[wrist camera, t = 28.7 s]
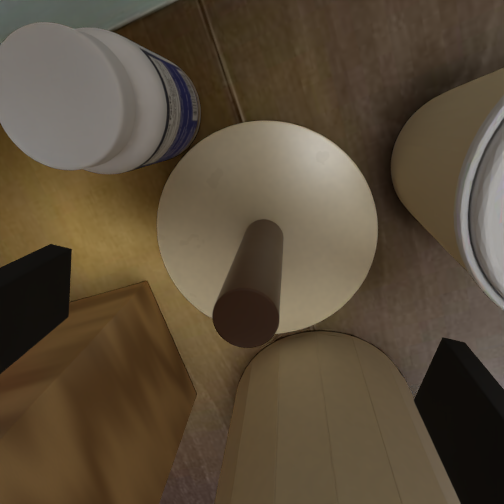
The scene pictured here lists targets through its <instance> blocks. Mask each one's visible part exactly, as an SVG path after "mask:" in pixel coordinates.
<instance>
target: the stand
mask: <svg viewBox="0 0 504 504" xmlns="http://www.w3.org/2000/svg"><path fill="white" fill-rule="evenodd" d="M196 395H197V394H196V391H195V389H194V387H193V385H192V382H191V380H190V378H189V375H188V373H187V371H186V369H185V366H184V364H183V362H182V360H181V357H180V355H179V353H178V350H177V348H176V346H175V344H174V341H173V339H172V337H171V335H170V332H169V330H168V328H167V325H166V323H165V321H164V319H163V316H162V314H161V312H160V310H159V307H158V305H157V303H156V301H155V298H154V296H153V294H152V291H151V289H150V287H149V285H148V282H147V281H145V282H142V283H138V284H134V285H131V286H127V287H124V288H120V289H116V290H113V291H109V292H106V293H102V294H98V295H95V296H91V297H88V298H84V299H80V300H77V301H73V302H69V317H68V318H67V319H66V320H64V321H63V322H62V323H61V324H60V325H58V326H57V327H56V328H55V329H54V330H52V331H51V332H50V333H49V334H48V335H47V336H45V337H44V338H43V339H42V340H41V341H39V342H38V343H37V344H36V345H35V346H33V347H32V348H31V349H30V350H29V351H27V352H26V353H25V354H24V355H23V356H22V357H20V358H19V359H18V360H17V361H16V362H14V363H13V364H12V365H11V366H10V367H8V368H7V369H6V370H5V371H4V372H2V373H1V374H0V504H159V502H160V499H161V496H162V493H163V491H164V488H165V485H166V482H167V479H168V476H169V473H170V470H171V467H172V465H173V462H174V459H175V456H176V453H177V450H178V447H179V444H180V442H181V439H182V436H183V433H184V430H185V427H186V424H187V421H188V418H189V416H190V413H191V410H192V407H193V404H194V401H195V398H196Z"/></svg>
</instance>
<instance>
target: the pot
mask: <svg viewBox="0 0 504 504" xmlns="http://www.w3.org/2000/svg"><path fill="white" fill-rule="evenodd" d="M214 504H461V503H460V501H459V499H458V497H457V494H456V492H455V490H454V488H453V486H452V484H451V481H450V479H449V477H448V475H447V473H446V470H445V468H444V466H443V464H442V462H441V460H440V457H439V455H438V453H437V451H436V449H435V446H434V444H433V442H432V440H431V438H430V436H429V433H428V431H427V429H426V427H425V425H424V422H423V420H422V418H421V416H420V414H419V412H418V409H417V407H416V405H415V403H414V398H413V396H412V394H411V391H410V389H409V387H408V385H407V383H406V381H405V378H404V377H403V376H402V375H401V374H400V372H399V370H398V369H397V368H396V366H395V365H394V363H393V362H392V361H391V360H390V359H389V358H388V357H387V356H386V355H385V354H384V353H383V352H381V351H380V350H379V349H377V348H376V347H374V346H373V345H371V344H369V343H368V342H366V341H363V340H361V339H359V338H356V337H353V336H350V335H347V334H342V333H336V332H327V331H314V332H305V333H298V334H295V335H291V336H288V337H285V338H283V339H280V340H278V341H276V342H274V343H272V344H271V345H269V346H267V347H266V348H265V349H263V350H262V351H261V352H259V353H258V354H257V355H256V356H255V357H254V358H253V359H252V361H251V362H250V363H249V365H248V366H247V367H246V369H245V371H244V373H243V375H242V377H241V380H240V382H239V384H238V387H237V392H236V397H235V402H234V407H233V412H232V417H231V422H230V427H229V432H228V437H227V442H226V447H225V452H224V457H223V462H222V467H221V472H220V477H219V482H218V487H217V492H216V497H215V502H214Z"/></svg>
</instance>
